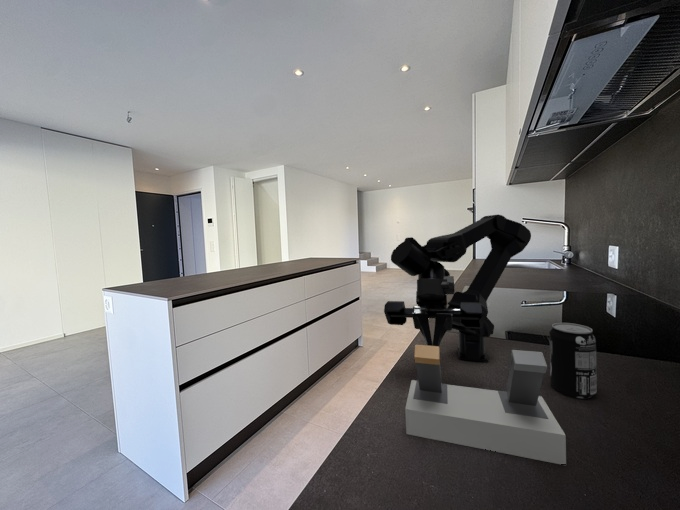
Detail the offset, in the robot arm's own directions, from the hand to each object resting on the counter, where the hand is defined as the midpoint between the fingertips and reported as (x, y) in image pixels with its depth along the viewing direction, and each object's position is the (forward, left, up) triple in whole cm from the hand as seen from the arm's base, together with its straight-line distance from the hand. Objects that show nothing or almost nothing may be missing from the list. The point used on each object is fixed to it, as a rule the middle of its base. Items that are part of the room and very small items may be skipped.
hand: (432, 355), depth 50 cm
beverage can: (-10, +24, -9) cm, 28 cm away
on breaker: (+5, +13, -4) cm, 14 cm away
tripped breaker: (+5, 0, -4) cm, 6 cm away
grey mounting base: (+6, +6, -8) cm, 12 cm away
